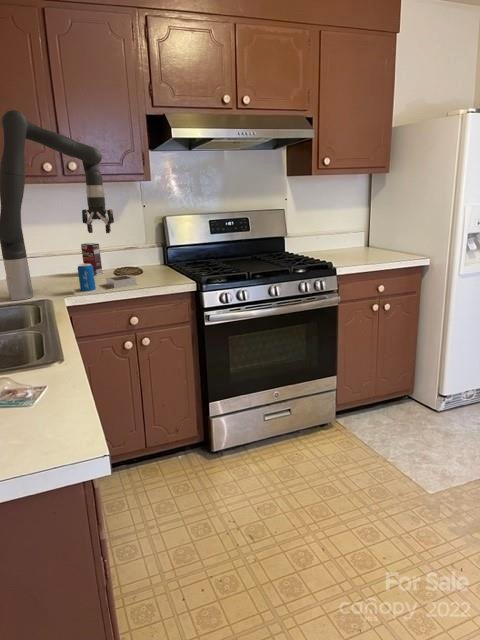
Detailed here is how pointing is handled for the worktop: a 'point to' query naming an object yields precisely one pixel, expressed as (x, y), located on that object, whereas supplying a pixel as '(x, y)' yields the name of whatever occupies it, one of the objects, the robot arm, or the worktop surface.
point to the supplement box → (92, 256)
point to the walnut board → (106, 287)
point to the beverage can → (86, 277)
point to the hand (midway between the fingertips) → (99, 233)
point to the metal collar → (121, 281)
